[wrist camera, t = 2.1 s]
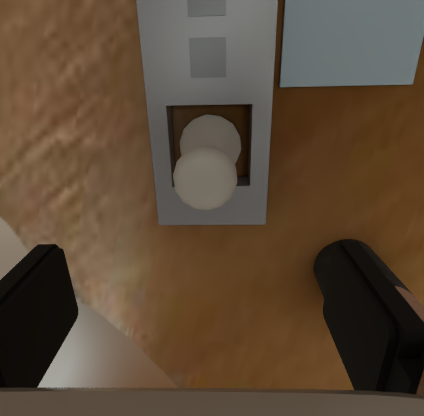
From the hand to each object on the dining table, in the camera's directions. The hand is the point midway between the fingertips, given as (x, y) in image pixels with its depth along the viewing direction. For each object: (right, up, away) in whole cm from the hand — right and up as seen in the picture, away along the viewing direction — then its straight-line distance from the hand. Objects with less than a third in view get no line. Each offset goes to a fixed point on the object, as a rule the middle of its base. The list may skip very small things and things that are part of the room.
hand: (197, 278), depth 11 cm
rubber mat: (+13, +19, +16) cm, 28 cm away
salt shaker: (0, +9, +21) cm, 23 cm away
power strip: (0, +14, +19) cm, 23 cm away
